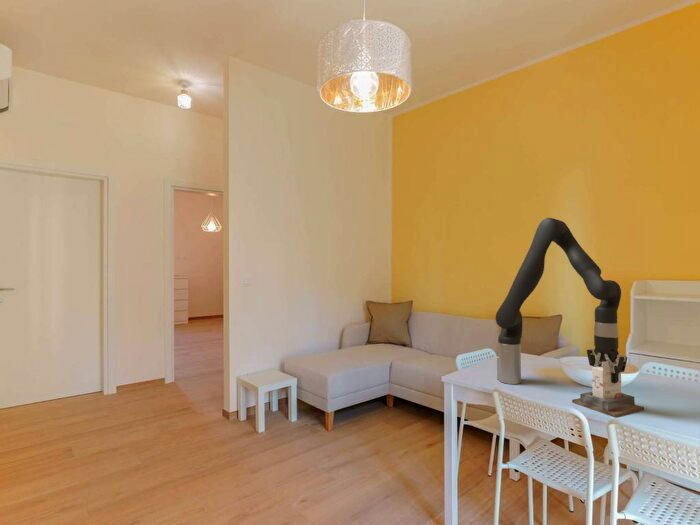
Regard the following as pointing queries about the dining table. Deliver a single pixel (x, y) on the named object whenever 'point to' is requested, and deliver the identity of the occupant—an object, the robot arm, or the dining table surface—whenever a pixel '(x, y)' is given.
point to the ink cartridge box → (605, 382)
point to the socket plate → (614, 412)
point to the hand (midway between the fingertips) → (606, 380)
